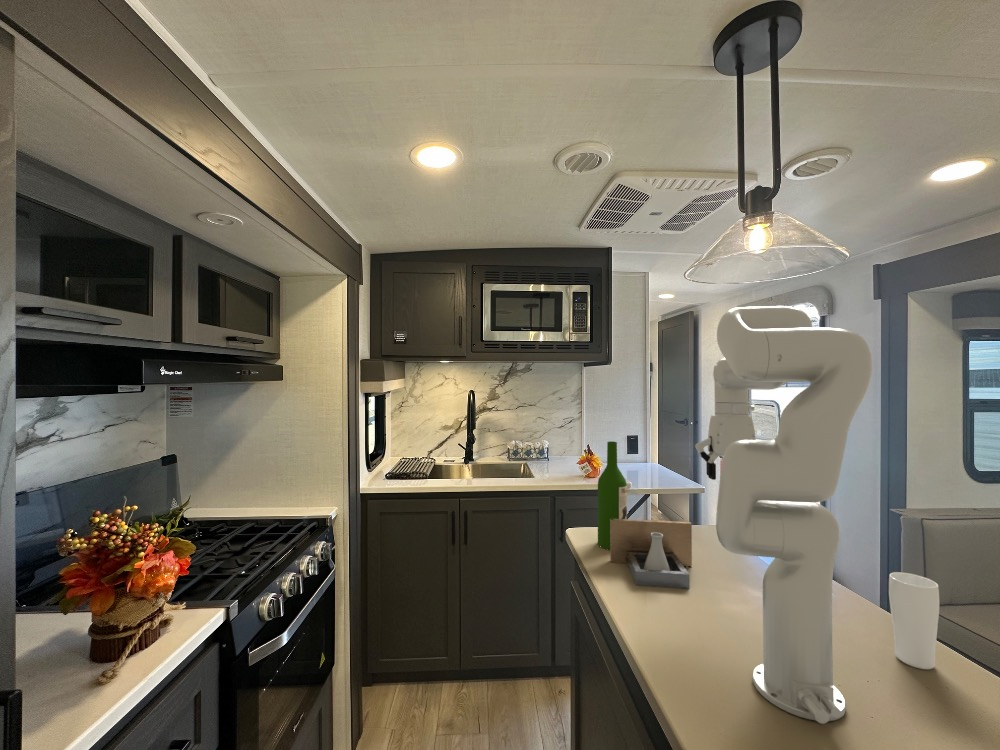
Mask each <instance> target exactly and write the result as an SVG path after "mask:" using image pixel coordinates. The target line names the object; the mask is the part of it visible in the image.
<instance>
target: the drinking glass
mask: <svg viewBox="0 0 1000 750" xmlns="http://www.w3.org/2000/svg"><path fill="white" fill-rule="evenodd" d="M888 597H889V598H888V599H889V606H890V615H891V621H892V622H891V623H892V630H893V639H894V640H893V641H894V654H895V657H896V658H897V659H898V660H899V661H900V662H902V663H904V664H906V665H908V666H910V667H912V668H916V669H920V670H932V669H934V668H935V666H936V648H937V647H936V646H937V637H938V636H937V635H938V625H939V619H940V618H939V617H940V589H939V584H938V583H937V582H935V581H934V580H932V579H931V578H928V577H924V576H922V575H918V574H914V573H908V572H899V571H894V572H891V573H890V574H889V578H888Z"/></svg>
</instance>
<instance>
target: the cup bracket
mask: <svg viewBox="0 0 1000 750" xmlns="http://www.w3.org/2000/svg"><path fill="white" fill-rule="evenodd" d="M692 525H693V524H692V523H691V522H690V521H677V520H675V521H674V520H655V519H653V520H652V519H651V520H650V519H632V518H631V519H630V518H629V519H628V518H627V519H610V550H609V553H610V554H609V555H610V556H609V557H610V558H609V560H610V563H613V562H614V563H613V564H617V563H618V564H627V566H628V569H629V572H630V574H631V578H632V580H633V582H634V585H635V586H639V587H640V586H642V587H657V588H670V587H672V589H674V588H675V589H690V573H689V572H688V570H687V569H686V568H685V567H684V566H692V567H693V554H692V553H693V550H692V549H693V541H692V537H693V535H692V532H693V531H692V530H693V529H692V527H693V526H692ZM654 532H655V533H661V534H663V538H662V546H663V550H664V553H665V556H666V560H667V562H668V565H669V568H670V571H663V570H645V569H643V567H644V564H645V561H646V559H647V556H648V554H649V551H650V548H651V543H652V537H651V533H654Z"/></svg>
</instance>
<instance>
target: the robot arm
mask: <svg viewBox="0 0 1000 750" xmlns="http://www.w3.org/2000/svg"><path fill="white" fill-rule="evenodd" d="M716 341H717V345H718V348H719V350H720V352H721V355H722V356H723V358H721V359H718V361H717V362H716V363H715V364H714V367H713V371H712V375H713V376H712V377H713V380H714V381H713V382H714V414H711V416H710V420H709V425H708V431H707V432H708V433H707V435H708V436H707V438H706V439H704V440H702V441H699V442H698V443H696V444H695V445H694V447H695V449H696V451H697V453H698V455H699V456H700V457H701V458H702V459H703V461H705V462H706V475H707V476H708V479H711V480H713V481H715V480H716V479H717V465H716V463H715V461H716V460H717V458H719V457H722V459H721V465H720V475H719V484H718V496H717V502H716V503H717V504H716V515H715V516H716V517H715V528H716V529H715V530H716V535H717V539H718V542H719V543H720V544H721V546H722V547H723V548H724V549H725V550H727V551H729V552H730V553H733V554H737V555H743V556H751V557H752V556H753V557H764V558H772V559H773V560H772V561H771V562H770V564H769V565H768V566H767V568H766V569H765V572H764V575H763V578H762V659H763V660H762V663H761V664H759V665H756V667H755V668H753V671H752V680H753V681H752V682H753V685H754V687H755V689H756V690H757V692H759V693H760V695H761V696H762V697H763V698H765V699H766V700H767V701H768V702H769V703H771V704H773V705H774V706H775V707H777V708H779V709H781V710H783V711H784V712H787V713H789V714H792V715H794V716H796V717H798V718H799V717H800V718H802V719H803V718H804V719H807V720H811V721H816V722H818V723H819V724H823V725H824V724H827V723H828V722H832V721H836V720H840V719H841V718H842V717H844V715H845V713H846V711H847V710H846V708H847V707H846V699H845V698H844V695H843V694H842V693H841V692H840V690H839V689H838V688H837V687H836V686H835V685H834V673H833V672H834V668H833V667H834V665H833V663H834V661H833V660H834V659H833V658H834V656H833V655H834V654H833V653H834V651H833V650H834V649H833V648H834V647H833V577H834V576H833V575H834V567H835V561H836V558H837V557H836V556H837V552H838V549H839V543H840V542H839V541H840V527H839V524H838V521H837V519H836V516H835V515H834V514H833V513H832V512H831V511H830V510H829V509H828V508H827V507H826V506H823V505H822V504H820V503H821V502H825V501H828V500H830V499H831V498H832V496H833V495H834V493H835V492H836V489H837V486H838V483H839V479H840V474H841V469H842V463H843V459H844V454H845V450H846V444H847V440H848V433H849V431H850V429H849V428H850V425H851V422H852V421H853V419H854V416H855V414H856V412H857V410H858V408H859V406H860V405H861V403H862V402H863V399H864V397H865V395H866V393H867V390H868V387H869V385H870V381H871V375H872V354H871V350H870V347H869V345H868V344H867V341H866V339H864V338H863V336H861V335H860V334H859V333H856V332H854V331H851V330H848V329H844V328H838V327H837V328H834V327H813V323H812V319H811V318H810V316H808V314H807V313H806V312H804V311H803V310H801V309H799V308H797V307H795V306H794V307H792V306H787V305H785V306H784V305H776V306H775V305H769V306H767V305H766V306H745V307H741V306H739V307H733V308H731V309H729V310H726V312H724V314H723V315H722V316H721V318H720V320H719V322H718V325H717V329H716ZM786 383H810V384H809V385H808V386H807V387H806V388H805V389H803V390H802V391H801V392H800V393H798V394H797V395H796V396H794V397H793V399H792V400H790V402H788V404H787V405H786V406H785V408H784V409H783V410H782V412H781V414H780V419H779V426H778V433H777V436H776V437H775V438H773V439H757V438H756V431H755V425H754V421H753V418H752V415H749V414H750V413H751V412H754V411H755V406H754V405H750V402H749V398H750V397H749V390H757V391H758V390H759V391H760V390H766V391H767V390H768V391H769V390H777V389H779V388H781V387H782V386H783V385H785V384H786ZM705 447H707V451H708V453H706V452H705V450H704V448H705Z"/></svg>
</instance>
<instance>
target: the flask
mask: <svg viewBox="0 0 1000 750" xmlns="http://www.w3.org/2000/svg"><path fill="white" fill-rule="evenodd" d="M651 537H652V543H651V548H650V551H649V554H648V556H647V559H646V561H645V564H644V567H643V569H645V570H663V571H670V568H669V565H668V562H667V560H666V556H665V553H664V550H663V546H662V538H663V534H661V533H655V532H654V533H651Z"/></svg>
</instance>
